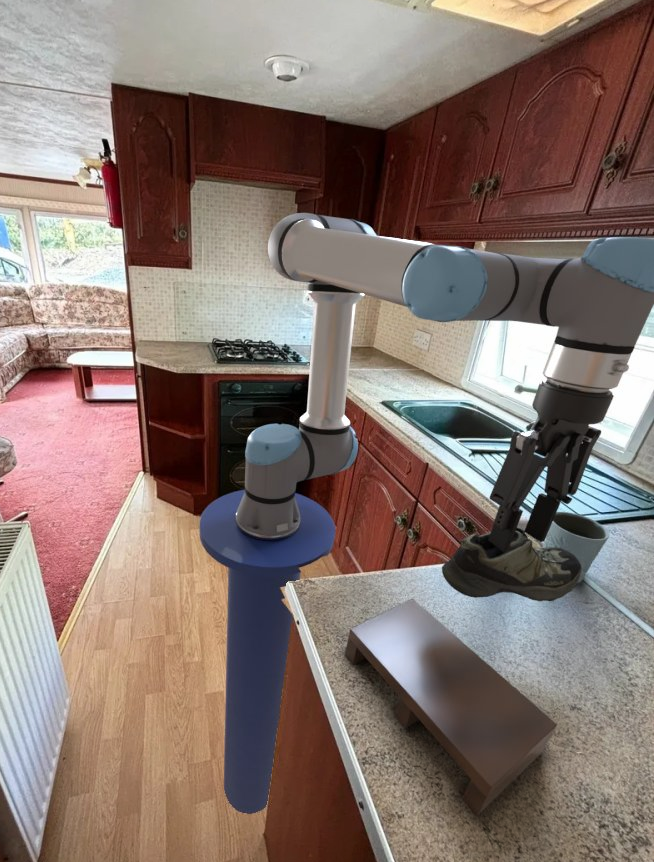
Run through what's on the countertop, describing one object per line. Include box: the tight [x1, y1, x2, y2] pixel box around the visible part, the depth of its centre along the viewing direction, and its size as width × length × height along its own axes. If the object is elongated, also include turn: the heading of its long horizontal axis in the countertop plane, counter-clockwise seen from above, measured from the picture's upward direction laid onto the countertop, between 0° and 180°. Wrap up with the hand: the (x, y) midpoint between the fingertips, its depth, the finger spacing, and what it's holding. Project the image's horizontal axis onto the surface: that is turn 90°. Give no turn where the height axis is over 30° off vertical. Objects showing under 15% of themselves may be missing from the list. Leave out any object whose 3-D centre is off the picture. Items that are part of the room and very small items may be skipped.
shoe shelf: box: [344, 598, 558, 817], centre depth 58 cm, size 24×14×6 cm, turn 31°
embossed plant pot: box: [541, 511, 610, 584], centre depth 86 cm, size 10×10×12 cm
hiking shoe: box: [441, 527, 582, 602], centre depth 60 cm, size 8×21×9 cm, turn 99°
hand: (516, 540), depth 58 cm, fingers closed on hiking shoe, 7 cm apart
